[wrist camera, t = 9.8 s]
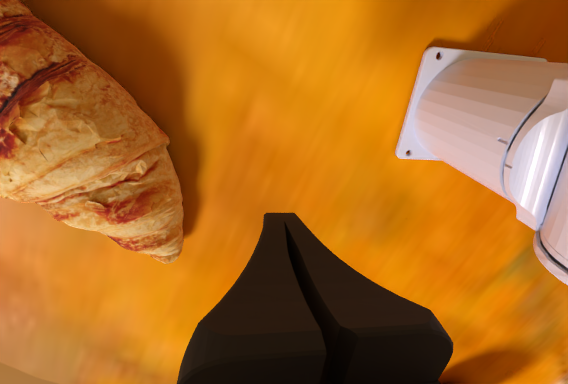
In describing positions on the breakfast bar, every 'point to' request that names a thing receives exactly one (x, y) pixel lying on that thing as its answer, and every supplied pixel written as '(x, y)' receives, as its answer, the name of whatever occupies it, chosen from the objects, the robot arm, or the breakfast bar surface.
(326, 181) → the breakfast bar surface
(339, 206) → the breakfast bar surface
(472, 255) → the breakfast bar surface
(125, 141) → the croissant
